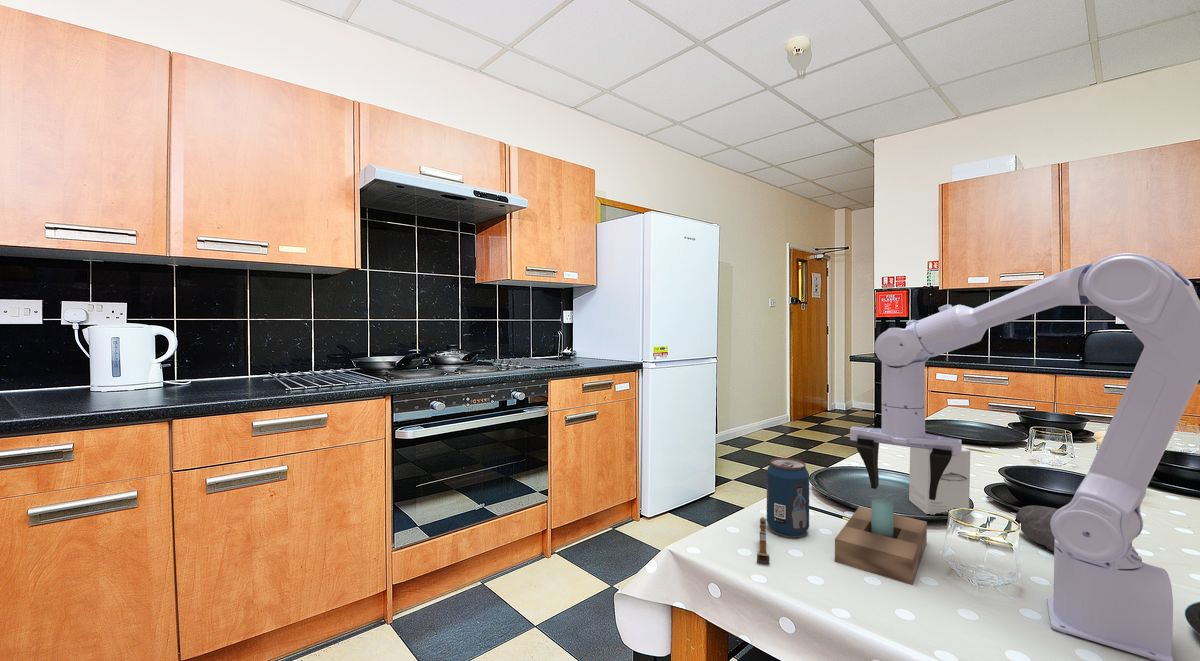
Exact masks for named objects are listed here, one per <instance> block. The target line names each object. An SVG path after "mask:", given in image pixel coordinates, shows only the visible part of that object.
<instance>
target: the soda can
mask: <svg viewBox="0 0 1200 661" xmlns="http://www.w3.org/2000/svg"><path fill="white" fill-rule="evenodd" d="M766 524H767V526H768V527H769V528H770V530H771V531H772V532H773V533H774V534H776V535H778V536H781V537H785V538H796V539H797V538H801V537H803V536H804V535H806V533H807V531H808V530H809V528H810V473H809V471H808V469H807V467H806V463H805V462H804V461H802V460H799V459H796V458H791V457H775V458H772V459H771V460H770V464H769V466H768V467H767V469H766Z"/></svg>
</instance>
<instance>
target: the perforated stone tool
mask: <svg viewBox="0 0 1200 661" xmlns="http://www.w3.org/2000/svg"><path fill="white" fill-rule="evenodd" d="M1058 509H1059V508H1055V507H1049V506H1044V505H1026V506H1022V507H1020V508H1019V510H1018V511H1017V513H1016V515H1015V520H1016V519H1017V520H1019V521H1020V523H1021V530H1020V531H1021V532H1022V534H1024V535H1025V536H1026V537H1027V538H1028V539H1030V540H1031V541H1032V542H1034V543H1036V544H1038V545H1041V546H1044V547H1046V549H1047V550H1048V551H1051V552H1053V553H1054V545H1055V543H1054V540H1055V537H1054V536H1053V533H1052V531H1051V525H1050V522H1051V518H1052V516H1053V514H1054V513H1055V512H1056V511H1057V510H1058ZM1130 545H1132V546H1133V541H1132V542H1131V544H1130Z"/></svg>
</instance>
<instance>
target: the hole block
mask: <svg viewBox="0 0 1200 661" xmlns="http://www.w3.org/2000/svg"><path fill="white" fill-rule="evenodd" d="M871 519H872V508H868V507H863V506H858V507H857V508H856V510H855V511H854V513H853V514H852V515H851V516H850V518H849V520H847V522H846V524H845V525H844V526H843V528H842V529H841V530H840V531H839V533H838V534H837V536H836V537H835V538H834V562H836V563H839V564H843V565H845V566H849V567H852V568H853V567H854V568H857V569H859V570H862V571H866V572H870V573H872V574H876V575H879V576H881V577H882V576H883V577H886V578H889V579H893V580H896V581H899V582H903V583H906V584H910V585H913V584H914V581H915V578H916V575H917V572H918V569H919V566H920V563H921V561H922V558H923V554H924V551H925V549H926V546H927V544H928V542H927V540H928V539H927V538H928V535H927V534H928V533H927V532H928V530H927V528H928V521H925V520H921V519H918V518H917V519H916V518H913V517H908V516H904V515H903V516H902V515H898V514H896V513H895V514H894V522H893V538H890V537H886V536H882V535H879V534H875V533H871Z"/></svg>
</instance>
